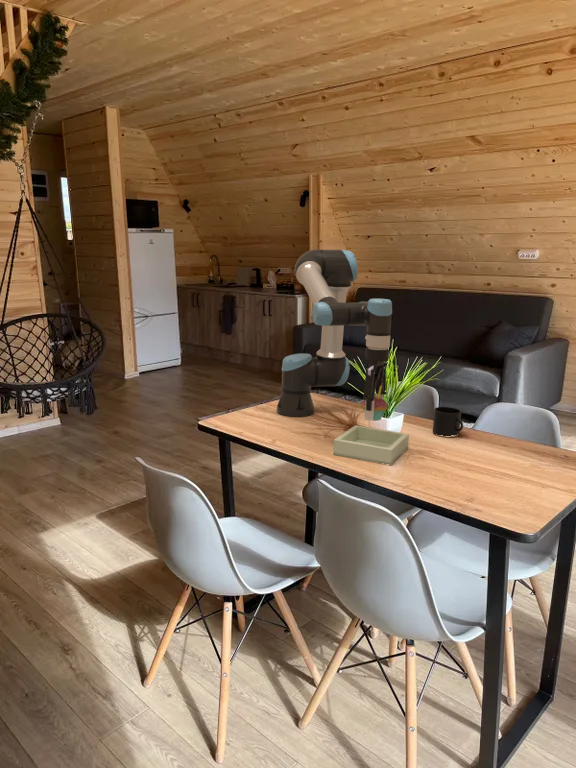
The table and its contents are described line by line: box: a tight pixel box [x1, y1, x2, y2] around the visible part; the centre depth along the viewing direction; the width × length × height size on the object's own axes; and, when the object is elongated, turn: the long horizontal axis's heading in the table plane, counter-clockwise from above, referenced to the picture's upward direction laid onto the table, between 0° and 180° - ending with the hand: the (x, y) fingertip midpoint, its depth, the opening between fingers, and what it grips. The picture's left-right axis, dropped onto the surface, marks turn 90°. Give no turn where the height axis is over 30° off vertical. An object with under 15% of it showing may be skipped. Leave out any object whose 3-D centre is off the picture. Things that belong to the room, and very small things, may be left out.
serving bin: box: [333, 424, 410, 466], centre depth 200 cm, size 19×19×5 cm
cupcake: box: [360, 384, 388, 422], centre depth 196 cm, size 9×8×12 cm
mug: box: [432, 406, 464, 436], centre depth 220 cm, size 9×12×9 cm
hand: (373, 416), depth 198 cm, fingers closed on cupcake, 8 cm apart
